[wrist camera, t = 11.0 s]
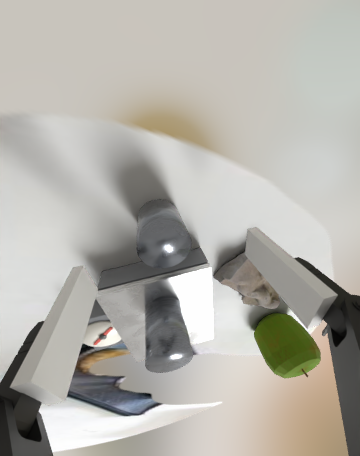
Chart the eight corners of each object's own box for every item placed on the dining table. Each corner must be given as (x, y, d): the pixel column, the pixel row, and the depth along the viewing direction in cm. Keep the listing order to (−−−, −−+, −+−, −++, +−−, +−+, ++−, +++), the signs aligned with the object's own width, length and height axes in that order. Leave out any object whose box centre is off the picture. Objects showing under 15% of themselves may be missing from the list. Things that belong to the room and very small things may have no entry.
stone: (206, 272, 27) (216, 293, 23) (252, 234, 25) (271, 250, 21) (247, 302, 34) (260, 321, 31) (286, 274, 32) (304, 291, 29)
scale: (107, 345, 30) (104, 368, 27) (59, 281, 21) (45, 306, 18) (205, 316, 33) (212, 335, 30) (200, 247, 23) (209, 264, 20)
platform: (136, 356, 28) (136, 362, 28) (96, 291, 19) (94, 297, 18) (211, 333, 30) (213, 338, 29) (208, 263, 21) (211, 267, 20)
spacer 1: (143, 239, 21) (144, 273, 16) (133, 203, 18) (129, 230, 13) (180, 231, 21) (193, 261, 16) (175, 195, 19) (189, 218, 14)
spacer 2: (150, 323, 23) (152, 377, 18) (140, 302, 20) (139, 357, 15) (183, 314, 23) (195, 363, 18) (178, 291, 21) (190, 342, 16)
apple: (239, 331, 39) (270, 392, 30) (271, 303, 36) (316, 362, 26) (266, 336, 44) (300, 389, 35) (297, 311, 40) (343, 363, 31)
